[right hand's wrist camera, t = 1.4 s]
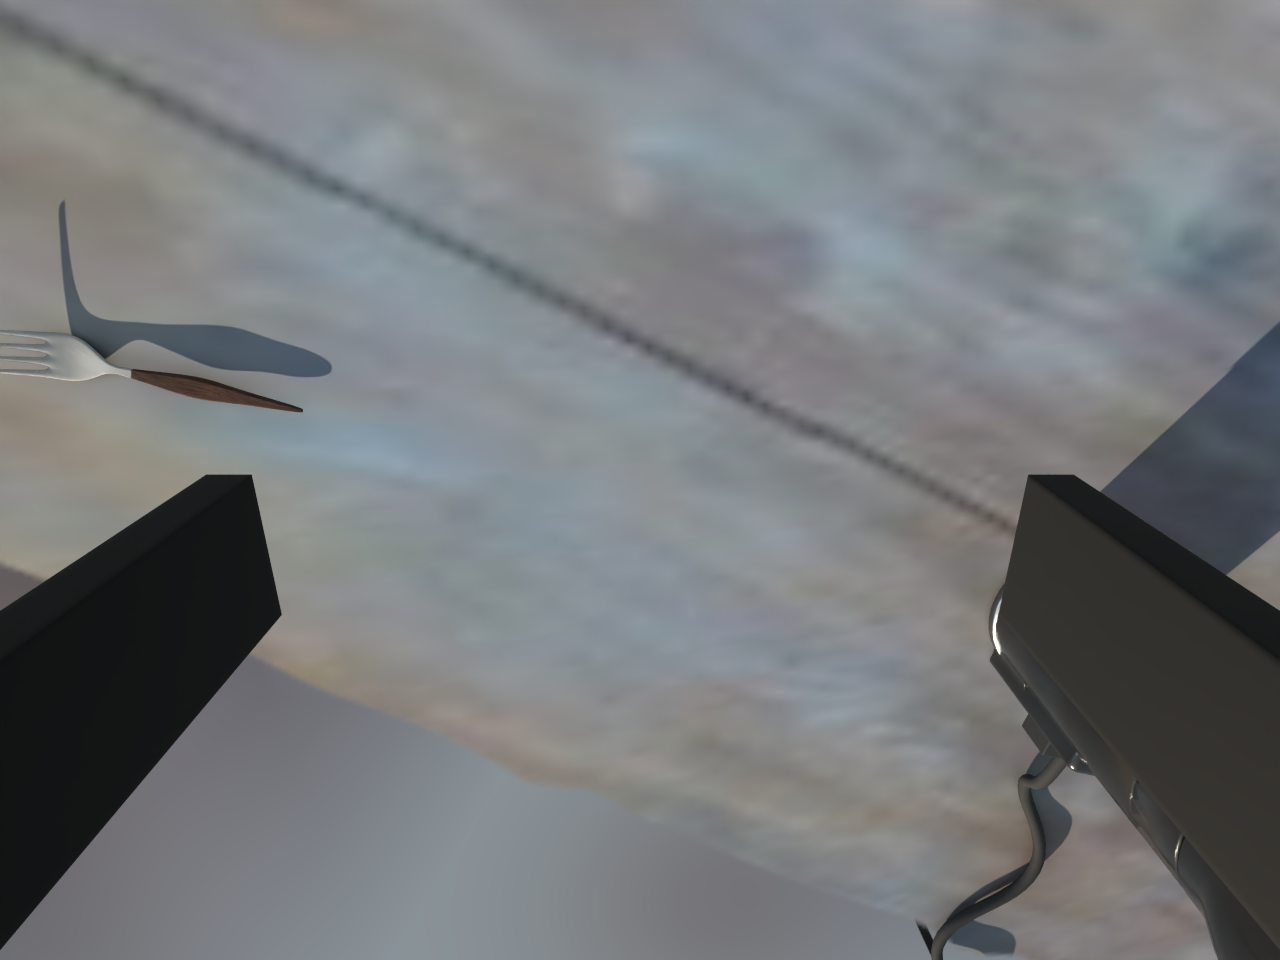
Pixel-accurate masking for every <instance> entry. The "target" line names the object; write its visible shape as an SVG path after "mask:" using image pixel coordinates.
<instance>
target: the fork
mask: <svg viewBox="0 0 1280 960" xmlns="http://www.w3.org/2000/svg"><path fill="white" fill-rule="evenodd" d="M0 334H5V335H14V336H23V337H31V338H38V339H43V340H45V341H46V343H45V344H7V343H0V347H5V348H14V349H23V350H33V351H40V352H44V353H46V354H47V356H46V357H4V356H0V360H6V361H16V362H26V363H35V364H42V365H45V366H47V367H48V369H46V370H15V369H0V373H8V374H19V375H30V376H40V377H49V378H55V379H62V380H70V381H81V380H88V379H91V378H94V377H97V376H100V375H103V374H107V373H114V374H119V375H123V376H126V377H129V378H133V379H136V380H139V381H142V382H145V383H148V384H151V385H154V386H157V387H160V388H163V389H166V390H169V391H172V392H175V393H178V394H182V395H185V396H189V397H193V398H198V399H203V400H210V401H217V402H225V403H234V404H242V405H250V406H257V407H264V408H271V409H278V410H285V411H293V412H303V409H301V408H299V407H296V406H293V405H290V404H286V403H283V402H280V401H276V400H273V399H269V398H266V397H262V396H259V395H256V394H252V393H249V392H246V391H243V390H239V389H236V388H233V387H230V386H227V385H224V384H221V383H218V382H214V381H211V380H207V379H203V378H199V377H194V376H187V375H180V374H172V373H163V372H154V371H145V370H137V369H129V368H123V367H118V366H115V365H113V364H111V363H109V362H108V361H107V360H105V359H104V358H103V357H102V356H101V355H100V354H99V353H98V352H97V351H96V350H95V349H93V348H92V347H91V346H90V345H89V344H88V343H86V342H85V341H83V340H82V339H80V338H78V337H75V336H73V335H69V334H65V333H55V332H34V331H13V330H0Z"/></svg>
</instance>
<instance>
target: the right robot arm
mask: <svg viewBox="0 0 1280 960" xmlns="http://www.w3.org/2000/svg"><path fill="white" fill-rule="evenodd" d="M281 615H282V614H281V609H280V605H279V600H278V595H277V591H276V586H275V581H274V577H273V572H272V567H271V563H270V558H269V553H268V549H267V544H266V539H265V535H264V530H263V525H262V521H261V516H260V511H259V507H258V502H257V497H256V493H255V488H254V483H253V479H252V475H205V476H204V477H202V478H201V479H199V480H198V481H196V482H195V483H193V484H192V485H190V486H189V487H187V488H185V489H184V490H182V491H181V492H179V493H178V494H176V495H175V496H173V497H172V498H170V499H169V500H167V501H166V502H164V503H163V504H161V505H160V506H158V507H157V508H155V509H154V510H152V511H151V512H149V513H148V514H146V515H145V516H143V517H142V518H140V519H139V520H137V521H136V522H134V523H133V524H131V525H129V526H128V527H126V528H125V529H123V530H122V531H120V532H119V533H117V534H116V535H114V536H113V537H111V538H110V539H108V540H107V541H105V542H104V543H102V544H101V545H99V546H98V547H96V548H95V549H93V550H92V551H90V552H89V553H87V554H86V555H84V556H83V557H81V558H80V559H78V560H77V561H75V562H73V563H72V564H70V565H69V566H67V567H66V568H64V569H63V570H61V571H60V572H58V573H57V574H55V575H54V576H52V577H51V578H49V579H48V580H46V581H45V582H43V583H42V584H40V585H39V586H37V587H36V588H34V589H33V590H31V591H30V592H28V593H27V594H25V595H24V596H22V597H21V598H19V599H18V600H16V601H15V602H13V603H11V604H10V605H8V606H7V607H6V608H4V609H2V610H1V611H0V950H1V948H2V947H3V946H4V945H5V944H6V942H7V941H8V940H9V939H10V938H11V937H12V935H13V934H14V933H15V932H16V930H17V929H18V928H19V927H20V926H21V925H22V923H23V922H24V921H25V920H26V919H27V917H28V916H29V915H30V914H31V913H32V912H33V910H34V909H35V908H36V907H37V906H38V904H39V903H40V902H41V901H42V900H43V898H44V897H45V896H46V895H47V894H48V892H49V891H50V890H51V889H52V888H53V886H54V885H55V884H56V883H57V882H58V881H59V879H60V878H61V877H62V876H63V875H64V873H65V872H66V871H67V870H68V869H69V867H70V866H71V865H72V864H73V863H74V862H75V860H76V859H77V858H78V857H79V855H80V854H81V853H82V852H83V851H84V850H85V848H86V847H87V846H88V845H89V844H90V842H91V841H92V840H93V839H94V838H95V837H96V835H97V834H98V833H99V832H100V830H101V829H102V828H103V827H104V826H105V825H106V823H107V822H108V821H109V820H110V819H111V817H112V816H113V815H114V814H115V813H116V811H117V810H118V809H119V808H120V807H121V805H122V804H123V803H124V802H125V801H126V800H127V798H128V797H129V796H130V795H131V794H132V792H133V791H134V790H135V789H136V788H137V786H138V785H139V784H140V783H141V782H142V780H143V779H144V778H145V777H146V776H147V775H148V773H149V772H150V771H151V770H152V769H153V767H154V766H155V765H156V764H157V763H158V761H159V760H160V759H161V758H162V757H163V755H164V754H165V753H166V752H167V751H168V750H169V748H170V747H171V746H172V745H173V744H174V742H175V741H176V740H177V739H178V738H179V736H180V735H181V734H182V733H183V732H184V731H185V729H186V728H187V727H188V726H189V724H190V723H191V722H192V721H193V720H194V719H195V717H196V716H197V715H198V714H199V713H200V711H201V710H202V709H203V708H204V707H205V706H206V704H207V703H208V702H209V701H210V700H211V698H212V697H213V696H214V695H215V694H216V692H217V691H218V690H219V689H220V688H221V686H222V685H223V684H224V683H225V682H226V681H227V679H228V678H229V677H230V676H231V675H232V673H233V672H234V671H235V670H236V669H237V667H238V666H239V665H240V664H241V663H242V661H243V660H244V659H245V658H246V657H247V656H248V654H249V653H250V652H251V651H252V650H253V648H254V647H255V646H256V645H257V644H258V642H259V641H260V640H261V639H262V638H263V636H264V635H265V634H266V633H267V632H268V631H269V629H270V628H271V627H272V626H273V625H274V623H275V622H276V621H277V620H278V619H279V617H280V616H281ZM998 615H999V616H1000V617H1001V619H1002V620H1003V621H1004V622H1005V623H1006V625H1007V626H1008V627H1009V628H1010V629H1011V631H1012V632H1013V633H1014V634H1015V635H1016V636H1017V638H1018V639H1019V640H1020V641H1021V642H1022V644H1023V645H1024V646H1025V647H1026V648H1027V650H1028V651H1029V652H1030V653H1031V654H1032V656H1033V657H1034V658H1035V659H1036V660H1037V661H1038V663H1039V664H1040V665H1041V666H1042V667H1043V669H1044V670H1045V671H1046V672H1047V673H1048V675H1049V676H1050V677H1051V678H1052V679H1053V681H1054V682H1055V683H1056V684H1057V685H1058V686H1059V688H1060V689H1061V690H1062V691H1063V692H1064V694H1065V695H1066V696H1067V697H1068V698H1069V700H1070V701H1071V702H1072V703H1073V704H1074V706H1075V707H1076V708H1077V709H1078V710H1079V711H1080V713H1081V714H1082V715H1083V716H1084V717H1085V719H1086V720H1087V721H1088V722H1089V723H1090V725H1091V726H1092V727H1093V728H1094V729H1095V731H1096V732H1097V733H1098V734H1099V735H1100V736H1101V738H1102V739H1103V740H1104V741H1105V742H1106V744H1107V745H1108V746H1109V747H1110V748H1111V750H1112V751H1113V752H1114V753H1115V754H1116V756H1117V757H1118V758H1119V759H1120V760H1121V761H1122V763H1123V764H1124V765H1125V766H1126V767H1127V769H1128V770H1129V771H1130V772H1131V773H1132V775H1133V776H1134V777H1135V778H1136V779H1137V781H1138V782H1139V783H1140V784H1141V785H1142V786H1143V788H1144V789H1145V790H1146V791H1147V792H1148V794H1149V795H1150V796H1151V797H1152V798H1153V800H1154V801H1155V802H1156V803H1157V804H1158V806H1159V807H1160V808H1161V809H1162V810H1163V811H1164V813H1165V814H1166V815H1167V816H1168V817H1169V819H1170V820H1171V821H1172V822H1173V823H1174V825H1175V826H1176V827H1177V828H1178V829H1179V831H1180V832H1181V833H1182V834H1183V835H1184V837H1185V838H1186V839H1187V840H1188V841H1189V842H1190V844H1191V845H1192V846H1193V847H1194V848H1195V850H1196V851H1197V852H1198V853H1199V854H1200V856H1201V857H1202V858H1203V859H1204V860H1205V862H1206V863H1207V864H1208V865H1209V866H1210V867H1211V869H1212V870H1213V871H1214V872H1215V873H1216V875H1217V876H1218V877H1219V878H1220V879H1221V881H1222V882H1223V883H1224V884H1225V885H1226V887H1227V888H1228V889H1229V890H1230V891H1231V892H1232V894H1233V895H1234V896H1235V897H1236V898H1237V900H1238V901H1239V902H1240V903H1241V904H1242V906H1243V907H1244V908H1245V909H1246V910H1247V912H1248V913H1249V914H1250V915H1251V916H1252V917H1253V919H1254V920H1255V921H1256V922H1257V923H1258V925H1259V926H1260V927H1261V928H1262V929H1263V931H1264V932H1265V933H1266V934H1267V935H1268V937H1269V938H1270V939H1271V940H1272V941H1273V942H1274V944H1275V945H1276V946H1277V947H1278V948H1279V950H1280V611H1279V610H1278V609H1276V608H1275V607H1273V606H1272V605H1270V604H1269V603H1267V602H1266V601H1264V600H1262V599H1261V598H1259V597H1258V596H1256V595H1255V594H1253V593H1252V592H1250V591H1249V590H1247V589H1246V588H1244V587H1243V586H1241V585H1240V584H1238V583H1237V582H1235V581H1234V580H1232V579H1231V578H1229V577H1228V576H1226V575H1225V574H1223V573H1222V572H1220V571H1219V570H1217V569H1216V568H1214V567H1213V566H1211V565H1210V564H1208V563H1207V562H1205V561H1203V560H1202V559H1200V558H1199V557H1197V556H1196V555H1194V554H1193V553H1191V552H1190V551H1188V550H1187V549H1185V548H1184V547H1182V546H1181V545H1179V544H1178V543H1176V542H1175V541H1173V540H1172V539H1170V538H1169V537H1167V536H1166V535H1164V534H1163V533H1161V532H1160V531H1158V530H1157V529H1155V528H1154V527H1152V526H1151V525H1149V524H1147V523H1146V522H1144V521H1143V520H1141V519H1140V518H1138V517H1137V516H1135V515H1134V514H1132V513H1131V512H1129V511H1128V510H1126V509H1125V508H1123V507H1122V506H1120V505H1119V504H1117V503H1116V502H1114V501H1113V500H1111V499H1110V498H1108V497H1107V496H1105V495H1104V494H1102V493H1101V492H1099V491H1098V490H1096V489H1095V488H1093V487H1091V486H1090V485H1088V484H1087V483H1085V482H1084V481H1082V480H1081V479H1079V478H1078V477H1076V476H1075V475H1028V479H1027V483H1026V488H1025V493H1024V497H1023V502H1022V507H1021V511H1020V516H1019V521H1018V525H1017V530H1016V535H1015V539H1014V544H1013V549H1012V553H1011V558H1010V563H1009V567H1008V572H1007V577H1006V581H1005V586H1004V591H1003V595H1002V600H1001V605H1000V609H999V614H998Z"/></svg>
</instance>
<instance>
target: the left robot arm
mask: <svg viewBox="0 0 1280 960" xmlns="http://www.w3.org/2000/svg"><path fill="white" fill-rule="evenodd" d="M1004 586H1005V584H1004V585H1003V586H1002V588H1001V589H1000V591H999V592H998V594H997V596H996V598H995V600H994V602H993V605H992V608H991V611H990V616H989V633H990V637H991V641H992V643H993V646H994V648H995V649H994V652H993V654H992V656H991V658H990V662H991V664H992V665H993V666H994V668H995V669H996V670H997V672H998V673H999V674H1000V676H1001V677H1002V679H1003V680H1004V681H1005V683H1006V684H1007V685H1008V687H1009V688H1010V689H1011V691H1012V692H1013V693H1014V695H1015V696H1016V697H1017V699H1018V700H1019V701H1020V703H1021V704H1022V706H1023V707H1024V708H1025V710H1026V711H1027V712H1028V716H1027V717H1026V719H1025V721H1024V723H1023V725H1022V727H1023V728H1024V730H1025V731H1026V732H1027V734H1028V735H1029V737H1030V738H1031V739H1032V741H1033V742H1034V744H1035V745H1036V746H1037V748H1038V749H1039V751H1040V752H1041V754H1042V755H1045V756H1050V757H1053V759H1052V760H1051V761H1050V763H1049V764H1048V765H1047V766H1046V768H1045V769H1044V770H1043V771H1042V772H1041V773H1040V774H1038V775H1037V776H1032V775H1030V774H1025V775H1022V776H1021V777H1020V778H1019V782H1018V793H1019V798H1020V801H1021V804H1022V807H1023V810H1024V812H1025V815H1026V818H1027V820H1028V823H1029V826H1030V829H1031V834H1032V839H1033V853H1032V858H1031V860H1030V863H1029V865H1028V866H1027V868H1026V869H1025V871H1024V872H1023V873H1022V874H1021V875H1020V876H1019V877H1018V878H1017V879H1016V880H1015V881H1014V882H1013V883H1011V884H1010V885H1009V886H1007V887H1005V888H1004V889H1002V890H1001V891H999V892H997V893H995V894H993V895H991V896H989V897H987V898H985V899H983V900H981V901H979V902H977V903H975V904H973V905H972V906H970V907H968V908H966V909H964V910H962V911H961V912H959V913H958V914H956V915H954V916H953V917H952V918H950V919H949V920H948V921H947V922H946V923H944V924H943V926H942V927H941V928H940V929H939V930H938V932H937V934H936V936H935V938H934V940H933V938H932V936H931V934H930V932H929V930H928V928H927V926H925V925H922V924H920V923H918V922H916V924H917V926H918V929H919V931H920V933H921V935H922V938H923V940H924V942H925V944H926V946H927V948H928V950H929V953H930V955H931V957H932V960H943V953H942V952H943V948H944V946H945V944H946V942H947V940H948V939H949V938H950V937H951V935H952V934H953V933H954V932H956V931H957V930H958V929H959V928H960V927H962V926H964V925H965V924H967V923H968V922H970V921H972V920H974V919H976V918H977V917H979V916H981V915H983V914H985V913H987V912H989V911H991V910H993V909H995V908H997V907H999V906H1001V905H1003V904H1005V903H1007V902H1009V901H1010V900H1012V899H1014V898H1015V897H1017V896H1018V895H1020V894H1021V893H1022V892H1023V891H1025V890H1026V889H1027V888H1028V887H1029V886H1030V885H1031V884H1032V883H1033V882H1034V881H1035V879H1036V878H1037V876H1038V875H1039V873H1040V872H1041V869H1042V867H1043V864H1044V860H1045V851H1046V843H1045V835H1044V831H1043V827H1042V824H1041V821H1040V818H1039V815H1038V812H1037V810H1036V807H1035V804H1034V801H1033V798H1032V795H1031V788H1032V789H1035V790H1041V789H1044V788H1046V787H1048V786H1049V785H1050V784H1051V783H1052V782H1053V781H1054V780H1055V779H1056V778H1057V777H1058V776H1059V774H1060V773H1061V772H1062V771H1063V769H1064V768H1065V767H1066V765H1067V766H1068V767H1069V768H1070V769H1072V770H1073V771H1075V772H1078V773H1083V774H1088V775H1093V776H1096V778H1097V779H1098V780H1099V781H1100V783H1101V784H1102V785H1103V787H1104V788H1105V789H1106V790H1107V792H1108V793H1109V794H1110V796H1111V797H1112V798H1113V799H1114V801H1115V802H1116V803H1117V804H1118V806H1119V807H1120V808H1121V810H1122V811H1123V812H1124V813H1125V815H1126V816H1127V817H1128V818H1129V820H1130V821H1131V822H1132V824H1133V825H1134V826H1135V827H1136V829H1137V830H1138V831H1139V833H1140V834H1141V835H1142V836H1143V838H1144V839H1145V840H1146V841H1147V843H1148V844H1149V845H1150V846H1151V848H1152V849H1153V850H1154V852H1155V853H1156V854H1157V855H1158V857H1159V858H1160V859H1161V861H1162V862H1163V863H1164V864H1165V866H1166V867H1167V868H1168V870H1169V871H1170V872H1171V874H1172V875H1173V876H1174V877H1175V879H1176V880H1177V881H1178V883H1179V884H1180V885H1181V886H1182V888H1183V889H1184V891H1185V892H1186V894H1187V895H1188V897H1189V898H1190V899H1191V900H1192V902H1193V903H1194V904H1195V906H1196V907H1197V908H1198V910H1199V911H1200V912H1201V914H1202V915H1203V917H1204V918H1205V921H1206V924H1207V928H1208V931H1209V935H1210V938H1211V941H1212V944H1213V948H1214V951H1215V953H1216V956H1217V958H1218V960H1280V950H1279V948H1278V947H1277V946H1276V945H1275V944H1274V942H1273V941H1272V940H1271V939H1270V938H1269V937H1268V935H1267V934H1266V933H1265V932H1264V931H1263V929H1262V928H1261V927H1260V926H1259V925H1258V923H1257V922H1256V921H1255V920H1254V919H1253V917H1252V916H1251V915H1250V914H1249V913H1248V912H1247V910H1246V909H1245V908H1244V907H1243V906H1242V904H1241V903H1240V902H1239V901H1238V900H1237V898H1236V897H1235V896H1234V895H1233V894H1232V892H1231V891H1230V890H1229V889H1228V888H1227V887H1226V885H1225V884H1224V883H1223V882H1222V881H1221V879H1220V878H1219V877H1218V876H1217V875H1216V873H1215V872H1214V871H1213V870H1212V869H1211V867H1210V866H1209V865H1208V864H1207V863H1206V862H1205V860H1204V859H1203V858H1202V857H1201V856H1200V854H1199V853H1198V852H1197V851H1196V850H1195V848H1194V847H1193V846H1192V845H1191V844H1190V842H1189V841H1188V840H1187V839H1186V838H1185V837H1184V835H1183V834H1182V833H1181V832H1180V831H1179V829H1178V828H1177V827H1176V826H1175V825H1174V823H1173V822H1172V821H1171V820H1170V819H1169V817H1168V816H1167V815H1166V814H1165V813H1164V811H1163V810H1162V809H1161V808H1160V807H1159V806H1158V804H1157V803H1156V802H1155V801H1154V800H1153V798H1152V797H1151V796H1150V795H1149V794H1148V792H1147V791H1146V790H1145V789H1144V788H1143V786H1142V785H1141V784H1140V783H1139V782H1138V781H1137V779H1136V778H1135V777H1134V776H1133V775H1132V773H1131V772H1130V771H1129V770H1128V769H1127V767H1126V766H1125V765H1124V764H1123V763H1122V761H1121V760H1120V759H1119V758H1118V757H1117V756H1116V754H1115V753H1114V752H1113V751H1112V750H1111V748H1110V747H1109V746H1108V745H1107V744H1106V742H1105V741H1104V740H1103V739H1102V738H1101V736H1100V735H1099V734H1098V733H1097V732H1096V731H1095V729H1094V728H1093V727H1092V726H1091V725H1090V723H1089V722H1088V721H1087V720H1086V719H1085V717H1084V716H1083V715H1082V714H1081V713H1080V711H1079V710H1078V709H1077V708H1076V707H1075V706H1074V704H1073V703H1072V702H1071V701H1070V700H1069V698H1068V697H1067V696H1066V695H1065V694H1064V692H1063V691H1062V690H1061V689H1060V688H1059V686H1058V685H1057V684H1056V683H1055V682H1054V681H1053V679H1052V678H1051V677H1050V676H1049V675H1048V673H1047V672H1046V671H1045V670H1044V669H1043V667H1042V666H1041V665H1040V664H1039V663H1038V661H1037V660H1036V659H1035V658H1034V657H1033V656H1032V654H1031V653H1030V652H1029V651H1028V650H1027V648H1026V647H1025V646H1024V645H1023V644H1022V642H1021V641H1020V640H1019V639H1018V638H1017V636H1016V635H1015V634H1014V633H1013V632H1012V631H1011V629H1010V628H1009V627H1008V626H1007V625H1006V623H1005V622H1004V621H1003V620H1002V619H1001V617H1000V616H999V615H998V614H999V609H1000V605H1001V600H1002V595H1003V591H1004Z"/></svg>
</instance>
